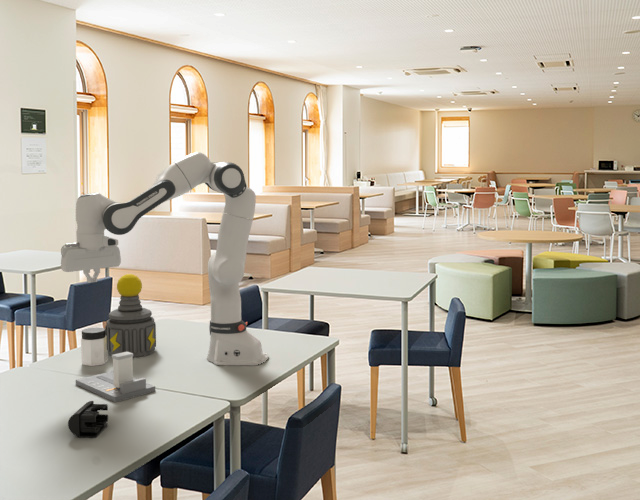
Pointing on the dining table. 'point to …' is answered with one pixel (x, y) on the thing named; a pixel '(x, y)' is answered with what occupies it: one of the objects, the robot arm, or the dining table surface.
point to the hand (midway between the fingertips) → (92, 282)
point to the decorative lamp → (130, 322)
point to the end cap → (88, 420)
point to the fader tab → (122, 368)
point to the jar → (94, 346)
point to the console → (106, 388)
